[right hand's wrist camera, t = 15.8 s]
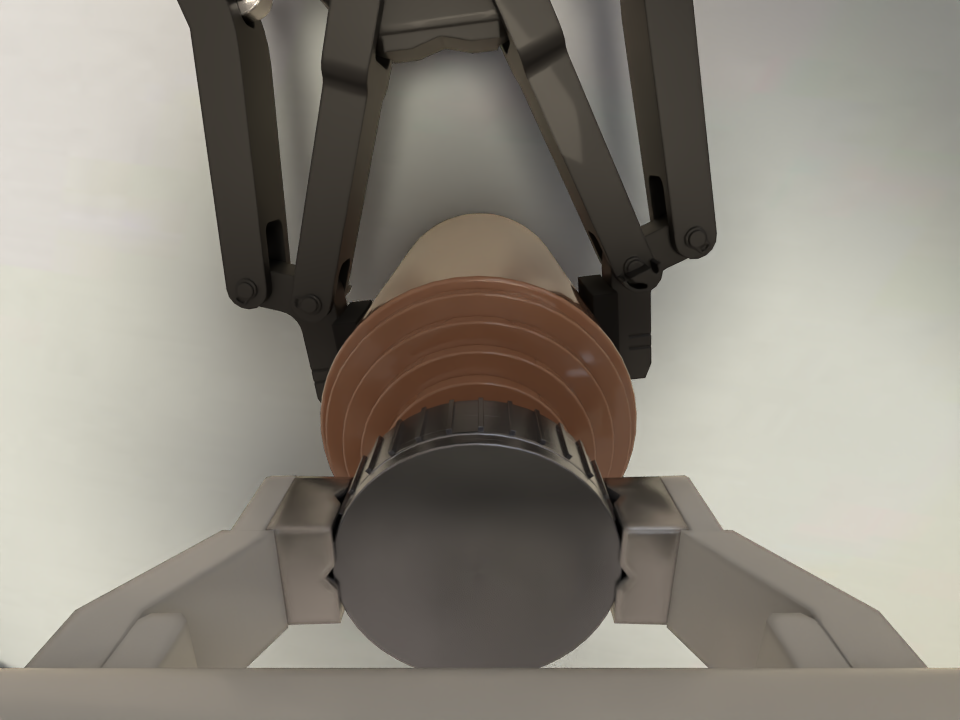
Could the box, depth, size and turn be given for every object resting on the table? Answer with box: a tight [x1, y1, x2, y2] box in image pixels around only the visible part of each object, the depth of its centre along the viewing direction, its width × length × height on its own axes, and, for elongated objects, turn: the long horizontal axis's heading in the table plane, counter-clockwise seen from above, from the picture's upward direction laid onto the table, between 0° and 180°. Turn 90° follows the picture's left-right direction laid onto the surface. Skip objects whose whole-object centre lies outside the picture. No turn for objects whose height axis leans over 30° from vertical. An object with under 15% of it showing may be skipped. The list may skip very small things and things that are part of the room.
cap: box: [332, 397, 622, 668], centre depth 9 cm, size 4×5×2 cm
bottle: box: [320, 213, 637, 478], centre depth 17 cm, size 7×7×17 cm
